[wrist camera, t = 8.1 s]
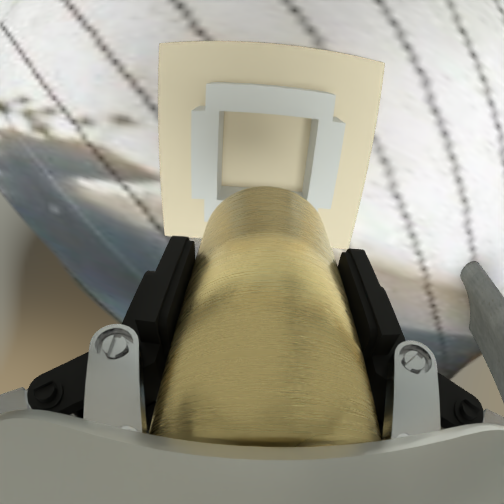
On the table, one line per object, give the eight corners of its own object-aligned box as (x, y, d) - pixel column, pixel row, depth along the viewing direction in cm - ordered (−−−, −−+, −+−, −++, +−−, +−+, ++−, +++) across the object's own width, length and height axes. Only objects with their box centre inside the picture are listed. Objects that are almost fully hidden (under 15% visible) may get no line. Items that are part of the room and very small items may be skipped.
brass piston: (204, 182, 11) (112, 411, 4) (336, 192, 11) (429, 419, 4) (205, 285, 14) (167, 482, 7) (313, 292, 14) (340, 488, 7)
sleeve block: (163, 44, 20) (146, 41, 17) (380, 62, 20) (399, 63, 17) (167, 230, 30) (156, 253, 27) (345, 243, 30) (355, 267, 27)
